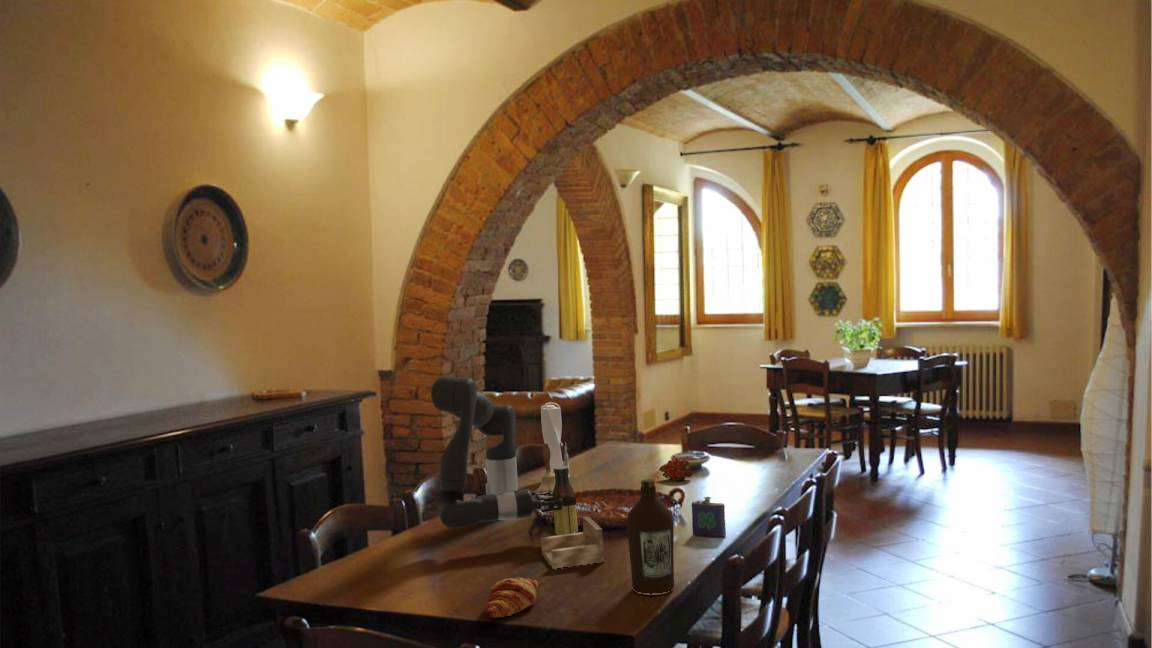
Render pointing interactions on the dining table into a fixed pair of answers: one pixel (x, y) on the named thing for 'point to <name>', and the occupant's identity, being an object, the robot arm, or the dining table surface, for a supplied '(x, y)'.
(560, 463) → the skyscraper
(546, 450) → the hand bell
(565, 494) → the sauce bottle
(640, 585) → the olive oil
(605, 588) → the dining table surface
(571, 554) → the light wooden holder
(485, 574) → the dining table surface
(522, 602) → the croissant
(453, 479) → the robot arm
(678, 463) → the dragon fruit
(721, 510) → the flask
